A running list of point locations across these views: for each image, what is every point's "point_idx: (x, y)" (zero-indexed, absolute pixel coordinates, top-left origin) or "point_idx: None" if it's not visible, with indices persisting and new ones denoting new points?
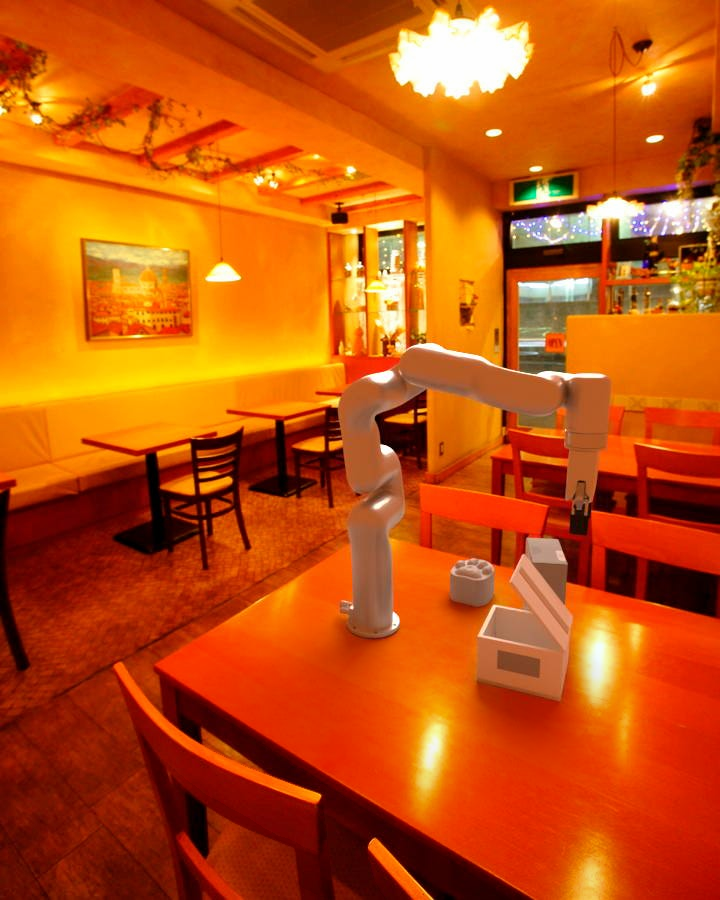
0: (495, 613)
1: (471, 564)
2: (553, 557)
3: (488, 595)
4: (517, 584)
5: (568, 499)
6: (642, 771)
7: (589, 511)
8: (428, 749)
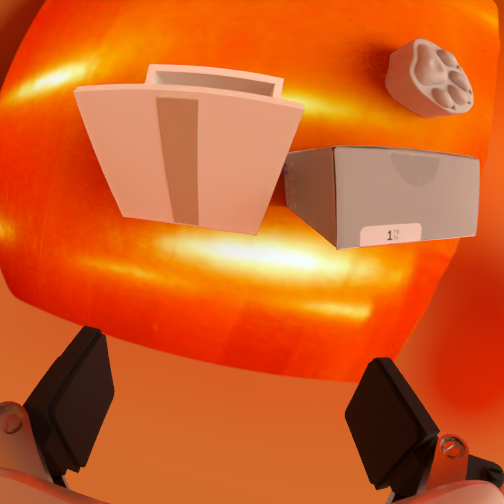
0: (268, 86)
1: (452, 75)
2: (378, 213)
3: (407, 102)
4: (95, 107)
5: (93, 500)
6: (76, 277)
7: (356, 439)
8: (53, 76)
